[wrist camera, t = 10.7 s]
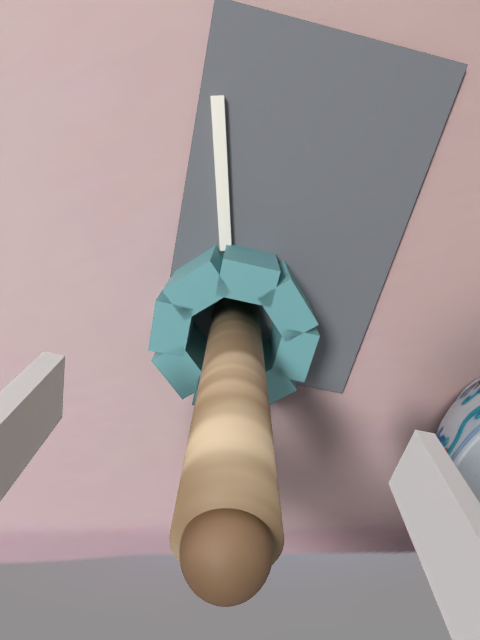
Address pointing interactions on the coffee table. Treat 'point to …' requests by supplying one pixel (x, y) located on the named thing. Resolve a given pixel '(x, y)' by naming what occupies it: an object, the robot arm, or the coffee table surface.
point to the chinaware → (464, 435)
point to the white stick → (221, 169)
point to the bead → (244, 285)
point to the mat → (314, 162)
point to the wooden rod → (229, 467)
